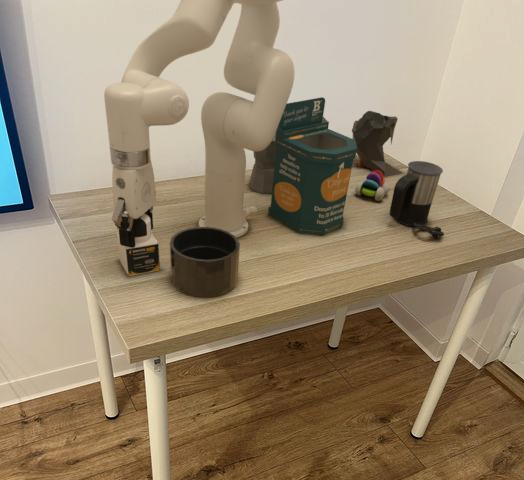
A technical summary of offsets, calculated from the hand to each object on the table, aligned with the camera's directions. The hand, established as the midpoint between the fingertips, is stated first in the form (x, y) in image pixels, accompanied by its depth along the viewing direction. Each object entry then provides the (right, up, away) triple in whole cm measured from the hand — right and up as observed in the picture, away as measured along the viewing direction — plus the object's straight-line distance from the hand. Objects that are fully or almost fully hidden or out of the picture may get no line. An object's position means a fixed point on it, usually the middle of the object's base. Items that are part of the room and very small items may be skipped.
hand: (137, 236), depth 113 cm
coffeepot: (+28, +23, +42) cm, 55 cm away
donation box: (+40, +10, +29) cm, 50 cm away
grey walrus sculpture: (+62, +36, +61) cm, 95 cm away
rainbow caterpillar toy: (+59, +21, +44) cm, 77 cm away
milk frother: (+69, +9, +31) cm, 76 cm away
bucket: (+14, -9, +3) cm, 17 cm away
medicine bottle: (-1, -6, +5) cm, 8 cm away
